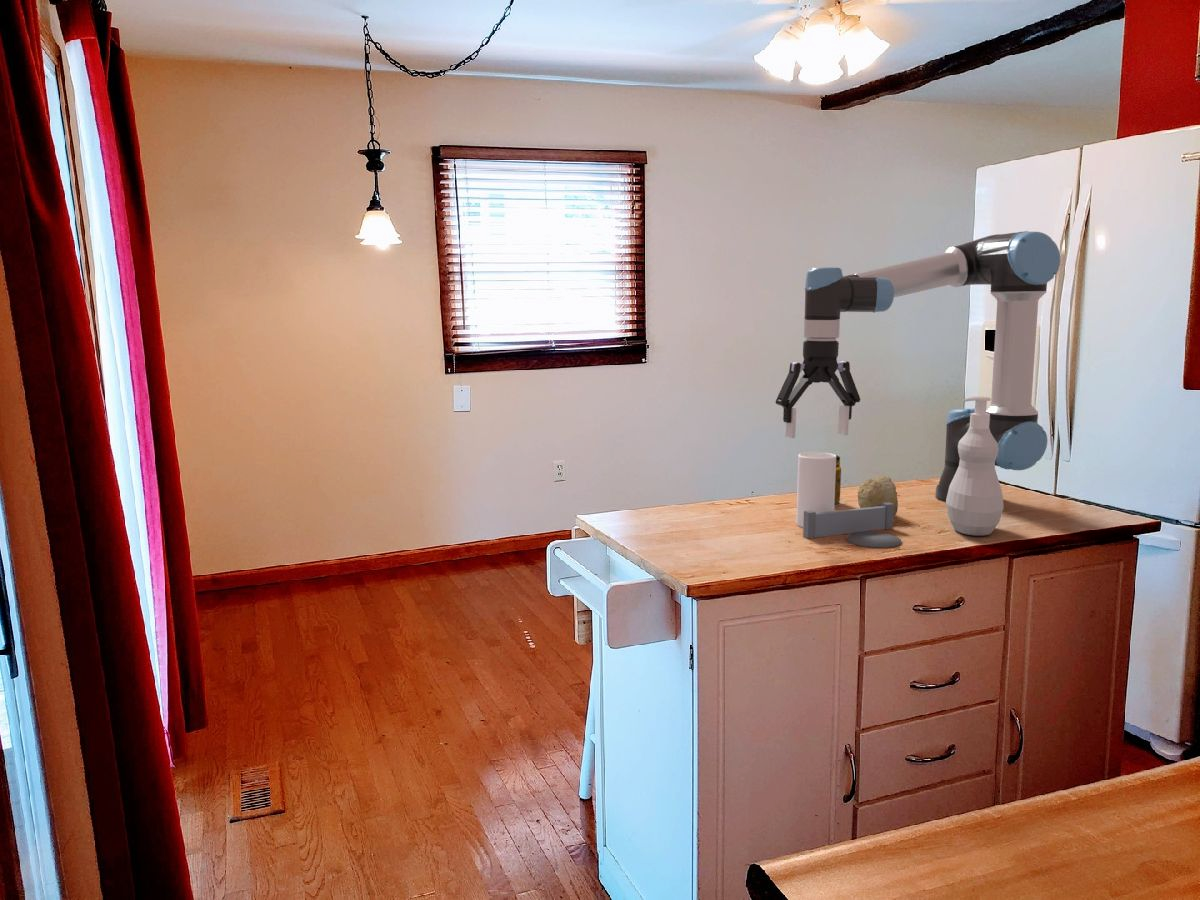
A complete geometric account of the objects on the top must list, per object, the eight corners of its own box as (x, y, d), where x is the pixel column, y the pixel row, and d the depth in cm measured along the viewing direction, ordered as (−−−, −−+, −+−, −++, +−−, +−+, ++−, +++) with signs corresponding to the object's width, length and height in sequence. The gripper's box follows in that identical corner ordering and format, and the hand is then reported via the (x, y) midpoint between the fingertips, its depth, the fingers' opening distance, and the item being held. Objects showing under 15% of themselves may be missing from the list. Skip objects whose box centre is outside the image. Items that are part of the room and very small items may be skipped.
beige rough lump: (915, 491, 203) (876, 474, 202) (894, 530, 206) (855, 513, 205) (902, 479, 212) (865, 463, 212) (882, 516, 215) (845, 500, 214)
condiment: (846, 503, 222) (848, 455, 220) (828, 508, 217) (830, 460, 215) (821, 498, 228) (823, 452, 226) (802, 504, 222) (804, 456, 220)
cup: (819, 531, 196) (821, 459, 193) (788, 524, 202) (790, 454, 199) (840, 524, 201) (843, 455, 199) (810, 518, 207) (812, 450, 205)
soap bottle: (941, 520, 205) (948, 392, 200) (995, 523, 202) (1004, 393, 197) (947, 539, 189) (956, 401, 184) (1007, 543, 186) (1017, 402, 181)
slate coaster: (879, 531, 195) (879, 530, 195) (912, 544, 185) (912, 542, 185) (836, 536, 191) (836, 534, 191) (868, 550, 181) (868, 548, 181)
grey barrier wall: (887, 526, 199) (888, 502, 198) (892, 528, 198) (893, 504, 197) (803, 536, 192) (803, 511, 191) (807, 538, 190) (808, 512, 189)
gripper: (858, 338, 202) (854, 430, 206) (762, 339, 194) (758, 436, 197) (879, 339, 195) (874, 435, 199) (780, 341, 187) (776, 441, 190)
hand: (816, 436), depth 198 cm, fingers open, 13 cm apart
